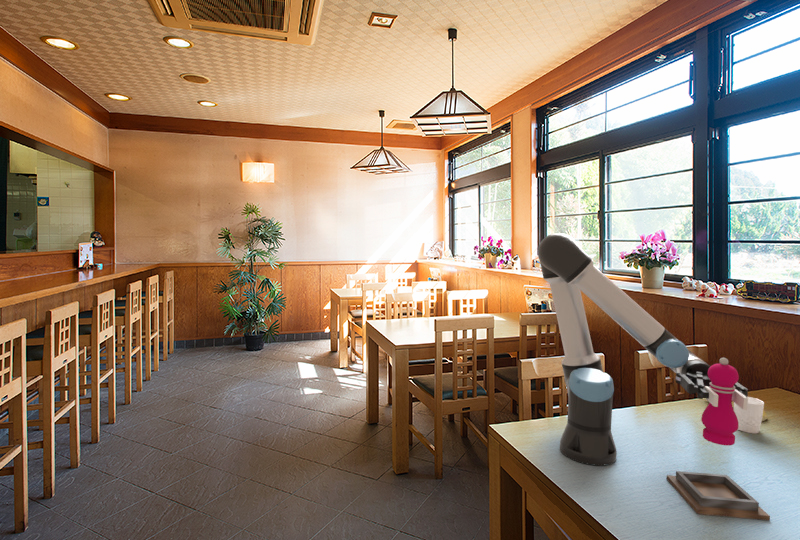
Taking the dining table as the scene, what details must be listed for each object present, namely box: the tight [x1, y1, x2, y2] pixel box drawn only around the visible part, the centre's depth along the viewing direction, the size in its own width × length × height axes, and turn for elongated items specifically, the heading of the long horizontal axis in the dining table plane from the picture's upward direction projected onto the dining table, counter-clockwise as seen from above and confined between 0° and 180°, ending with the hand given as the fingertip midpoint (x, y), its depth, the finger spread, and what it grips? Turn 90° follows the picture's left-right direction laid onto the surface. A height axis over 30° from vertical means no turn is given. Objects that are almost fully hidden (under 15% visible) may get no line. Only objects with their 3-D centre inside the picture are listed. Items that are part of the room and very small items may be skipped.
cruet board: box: [666, 470, 771, 521], centre depth 108 cm, size 15×15×3 cm
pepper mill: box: [700, 357, 740, 446], centre depth 106 cm, size 7×7×20 cm
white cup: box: [733, 396, 765, 434], centre depth 148 cm, size 8×8×10 cm
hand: (730, 402), depth 101 cm, fingers closed on pepper mill, 5 cm apart
